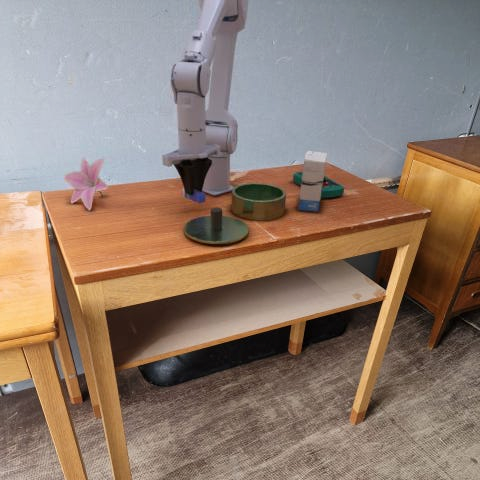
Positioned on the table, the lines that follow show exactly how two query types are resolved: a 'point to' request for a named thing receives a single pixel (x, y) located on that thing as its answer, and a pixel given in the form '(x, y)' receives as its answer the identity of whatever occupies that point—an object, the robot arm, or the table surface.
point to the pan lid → (216, 228)
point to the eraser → (195, 196)
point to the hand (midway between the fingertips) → (193, 192)
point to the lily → (86, 182)
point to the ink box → (312, 181)
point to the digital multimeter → (328, 187)
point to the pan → (258, 201)
